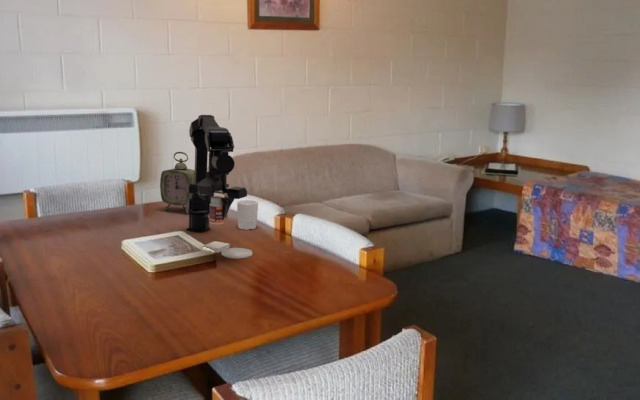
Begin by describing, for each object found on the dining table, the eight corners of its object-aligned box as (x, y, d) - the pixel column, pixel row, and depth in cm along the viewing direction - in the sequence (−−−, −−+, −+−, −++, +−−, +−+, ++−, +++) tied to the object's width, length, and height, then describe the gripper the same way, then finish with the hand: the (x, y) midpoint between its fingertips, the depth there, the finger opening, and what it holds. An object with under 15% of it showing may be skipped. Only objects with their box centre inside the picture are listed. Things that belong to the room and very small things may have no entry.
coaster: (215, 255, 195) (215, 253, 194) (230, 247, 204) (230, 246, 204) (243, 260, 191) (243, 258, 191) (257, 252, 200) (257, 250, 200)
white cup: (259, 226, 235) (260, 200, 233) (255, 231, 227) (255, 205, 225) (239, 224, 235) (239, 199, 233) (234, 229, 228) (235, 203, 226)
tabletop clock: (160, 211, 251) (159, 151, 246) (173, 207, 259) (173, 149, 254) (189, 215, 246) (190, 154, 241) (202, 211, 254) (202, 152, 249)
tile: (214, 246, 207) (202, 250, 200) (214, 241, 206) (202, 245, 200) (229, 248, 204) (217, 253, 198) (229, 243, 204) (217, 248, 198)
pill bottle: (217, 225, 192) (217, 199, 190) (206, 222, 194) (206, 197, 193) (227, 222, 196) (227, 197, 194) (216, 220, 198) (216, 195, 197)
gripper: (177, 168, 188) (177, 217, 191) (230, 174, 181) (229, 225, 184) (198, 164, 198) (197, 211, 201) (248, 170, 191) (247, 218, 194)
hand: (217, 216), depth 195 cm, fingers closed on pill bottle, 5 cm apart
